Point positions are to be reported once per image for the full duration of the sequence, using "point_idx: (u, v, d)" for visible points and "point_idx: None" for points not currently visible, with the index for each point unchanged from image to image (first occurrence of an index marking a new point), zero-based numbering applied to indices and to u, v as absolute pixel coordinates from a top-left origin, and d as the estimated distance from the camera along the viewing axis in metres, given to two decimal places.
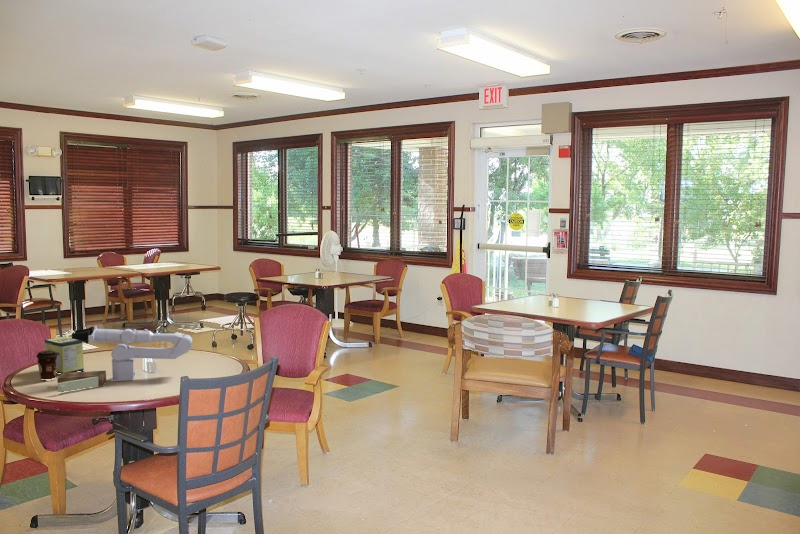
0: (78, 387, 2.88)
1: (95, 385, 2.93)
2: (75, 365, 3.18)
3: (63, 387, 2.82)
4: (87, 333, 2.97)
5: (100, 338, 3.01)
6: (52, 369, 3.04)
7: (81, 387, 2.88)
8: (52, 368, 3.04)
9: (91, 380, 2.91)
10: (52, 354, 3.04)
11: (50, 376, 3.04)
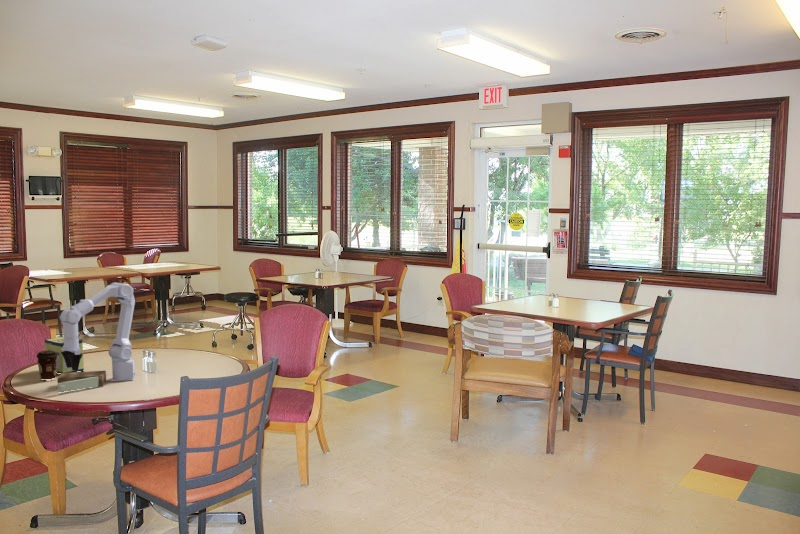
0: (78, 387, 2.88)
1: (95, 385, 2.93)
2: None
3: (63, 387, 2.82)
4: (72, 356, 2.83)
5: (75, 342, 2.86)
6: (52, 369, 3.04)
7: (81, 387, 2.88)
8: (52, 368, 3.04)
9: (91, 380, 2.91)
10: (52, 354, 3.04)
11: (50, 376, 3.04)
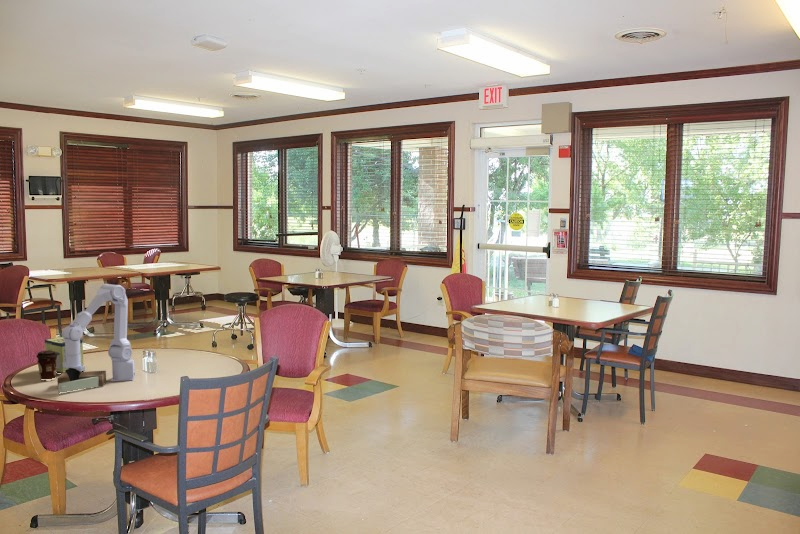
0: (79, 387, 2.88)
1: (95, 385, 2.93)
2: None
3: (64, 387, 2.82)
4: (72, 371, 2.85)
5: (78, 359, 2.86)
6: (52, 369, 3.04)
7: (81, 387, 2.88)
8: (52, 368, 3.04)
9: (91, 380, 2.91)
10: (52, 354, 3.04)
11: (50, 376, 3.04)
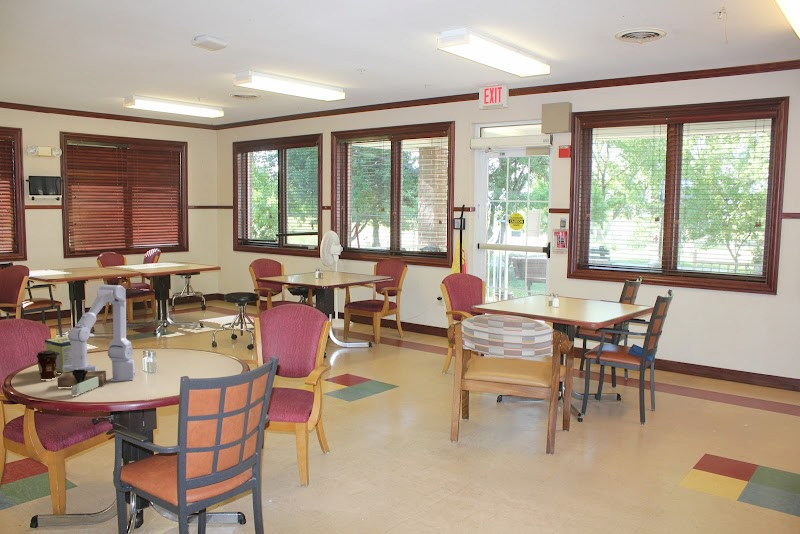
0: (86, 388, 2.86)
1: (97, 385, 2.93)
2: None
3: (78, 389, 2.79)
4: (82, 373, 2.82)
5: None
6: (52, 369, 3.04)
7: (88, 388, 2.87)
8: (52, 368, 3.04)
9: (94, 380, 2.91)
10: (52, 354, 3.04)
11: (50, 376, 3.04)
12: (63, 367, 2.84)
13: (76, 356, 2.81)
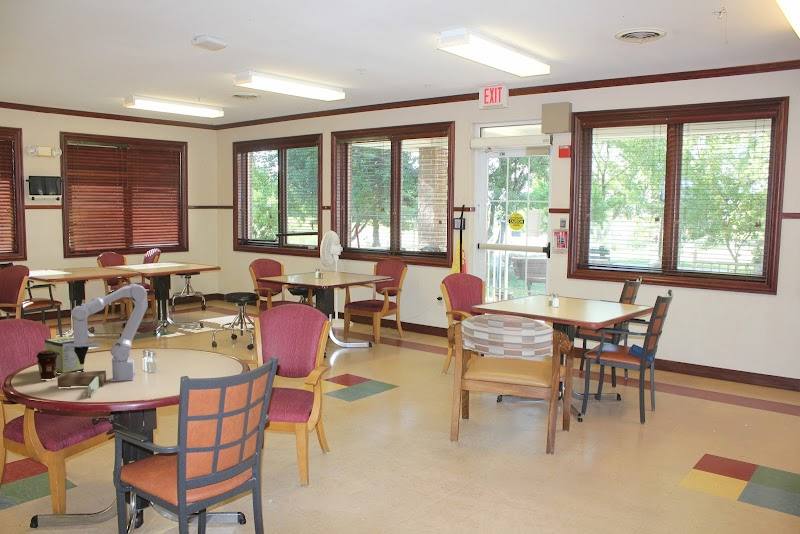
0: (94, 388, 2.86)
1: (98, 385, 2.93)
2: (75, 365, 3.18)
3: (94, 389, 2.80)
4: (86, 349, 2.96)
5: None
6: (52, 369, 3.04)
7: (95, 388, 2.87)
8: (52, 368, 3.04)
9: (97, 380, 2.91)
10: (52, 354, 3.04)
11: (50, 376, 3.04)
12: (64, 345, 2.94)
13: (74, 333, 2.94)
